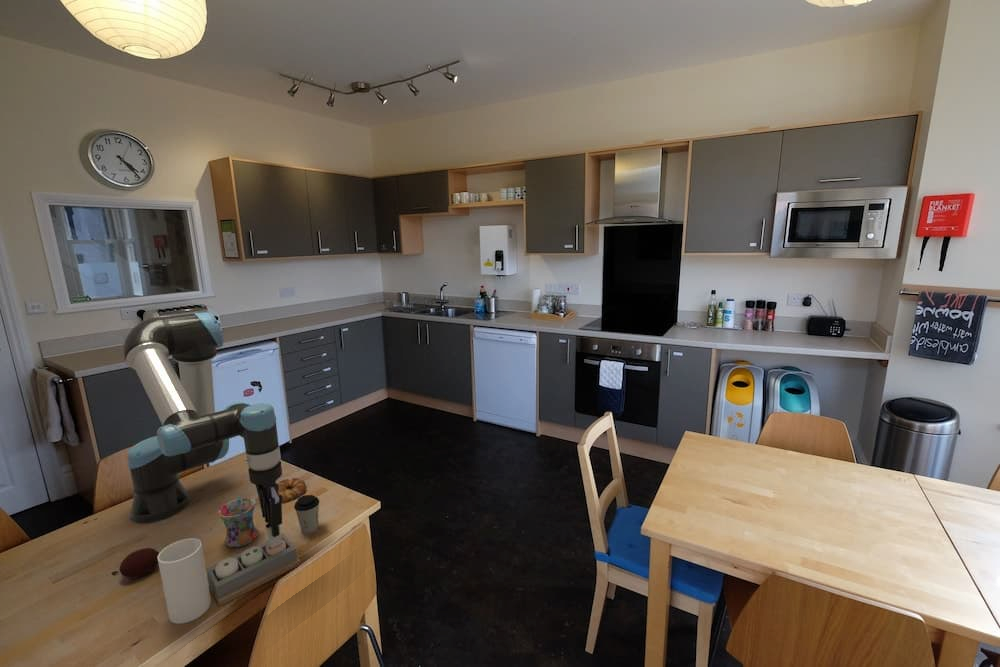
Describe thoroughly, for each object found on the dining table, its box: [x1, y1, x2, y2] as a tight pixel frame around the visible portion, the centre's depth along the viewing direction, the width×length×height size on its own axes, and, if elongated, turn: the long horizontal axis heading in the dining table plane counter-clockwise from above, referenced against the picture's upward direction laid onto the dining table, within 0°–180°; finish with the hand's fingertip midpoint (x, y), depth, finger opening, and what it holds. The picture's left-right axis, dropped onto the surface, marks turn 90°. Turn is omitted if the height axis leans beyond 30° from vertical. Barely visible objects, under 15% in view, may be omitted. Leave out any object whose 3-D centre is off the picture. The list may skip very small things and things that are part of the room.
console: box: [206, 533, 301, 607], centre depth 116 cm, size 12×19×4 cm, turn 136°
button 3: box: [266, 540, 286, 557], centre depth 119 cm, size 5×5×3 cm
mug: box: [217, 497, 259, 548], centre depth 129 cm, size 12×9×11 cm
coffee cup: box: [293, 494, 320, 535], centre depth 132 cm, size 7×7×10 cm
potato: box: [119, 547, 160, 579], centre depth 116 cm, size 7×8×6 cm
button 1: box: [215, 557, 239, 581], centre depth 111 cm, size 5×5×3 cm
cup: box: [158, 537, 212, 625], centre depth 103 cm, size 8×8×16 cm
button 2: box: [241, 546, 263, 569], centre depth 115 cm, size 5×5×3 cm
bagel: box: [277, 477, 307, 504], centre depth 152 cm, size 12×11×4 cm
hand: (275, 544), depth 119 cm, fingers closed
